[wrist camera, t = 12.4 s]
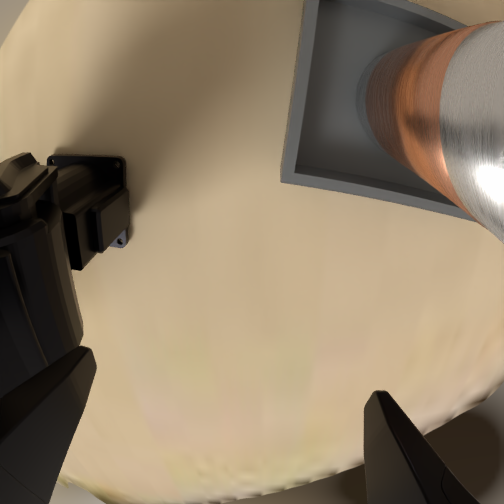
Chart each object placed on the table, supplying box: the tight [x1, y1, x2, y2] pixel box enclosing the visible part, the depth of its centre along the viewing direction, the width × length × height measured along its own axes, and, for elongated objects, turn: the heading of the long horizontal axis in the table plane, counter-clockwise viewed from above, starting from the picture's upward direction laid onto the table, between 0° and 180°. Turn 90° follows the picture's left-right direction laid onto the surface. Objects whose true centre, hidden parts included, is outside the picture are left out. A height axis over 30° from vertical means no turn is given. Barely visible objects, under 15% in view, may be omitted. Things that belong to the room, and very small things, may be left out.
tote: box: [280, 0, 478, 223], centre depth 15 cm, size 14×11×3 cm
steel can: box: [356, 21, 504, 243], centre depth 10 cm, size 7×7×13 cm
